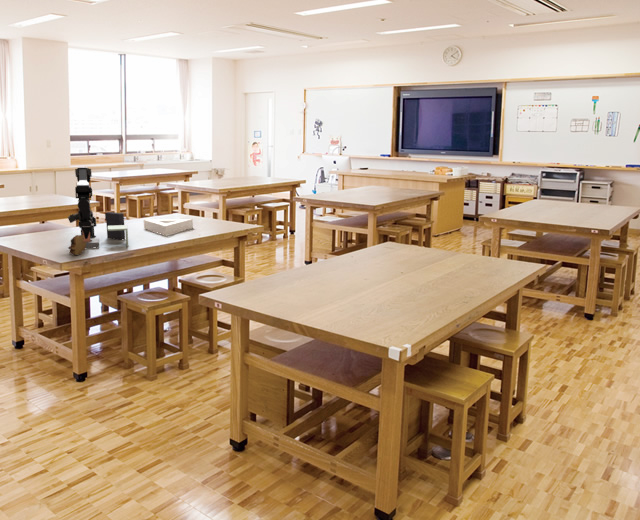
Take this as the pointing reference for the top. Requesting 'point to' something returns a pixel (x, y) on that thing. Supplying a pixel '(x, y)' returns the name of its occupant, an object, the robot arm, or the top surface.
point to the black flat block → (113, 220)
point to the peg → (87, 238)
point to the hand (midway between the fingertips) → (86, 237)
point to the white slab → (168, 225)
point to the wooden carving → (77, 245)
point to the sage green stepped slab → (119, 227)
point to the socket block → (92, 243)
